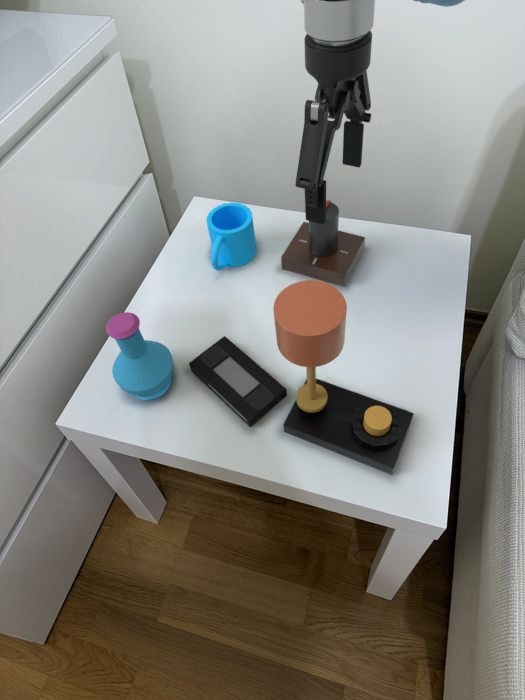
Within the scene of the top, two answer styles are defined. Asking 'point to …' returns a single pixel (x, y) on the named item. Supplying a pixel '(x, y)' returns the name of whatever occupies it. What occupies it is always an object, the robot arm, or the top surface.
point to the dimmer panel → (325, 267)
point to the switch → (377, 420)
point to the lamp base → (350, 428)
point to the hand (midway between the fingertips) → (334, 191)
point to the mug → (231, 235)
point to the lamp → (310, 333)
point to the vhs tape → (238, 380)
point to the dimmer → (325, 232)
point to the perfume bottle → (139, 359)
